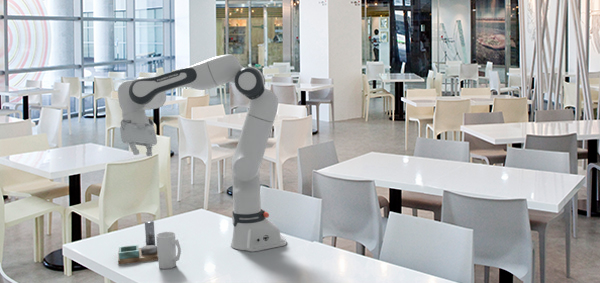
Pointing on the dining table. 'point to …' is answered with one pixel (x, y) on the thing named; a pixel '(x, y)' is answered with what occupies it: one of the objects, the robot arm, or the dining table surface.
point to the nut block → (137, 254)
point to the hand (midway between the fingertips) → (143, 155)
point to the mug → (167, 250)
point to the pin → (149, 233)
